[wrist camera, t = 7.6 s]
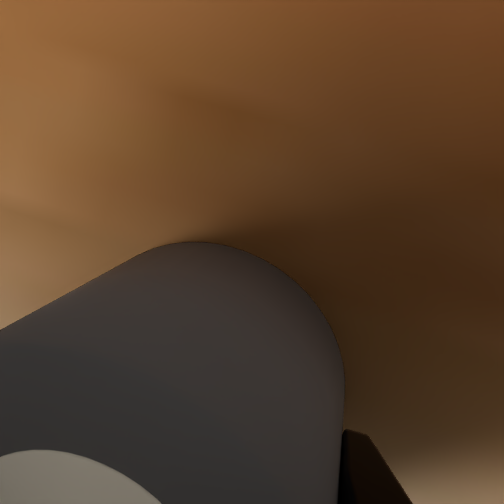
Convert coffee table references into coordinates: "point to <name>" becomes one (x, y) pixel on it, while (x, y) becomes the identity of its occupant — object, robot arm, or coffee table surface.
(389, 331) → the coffee table surface
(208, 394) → the grey cylinder white cap
